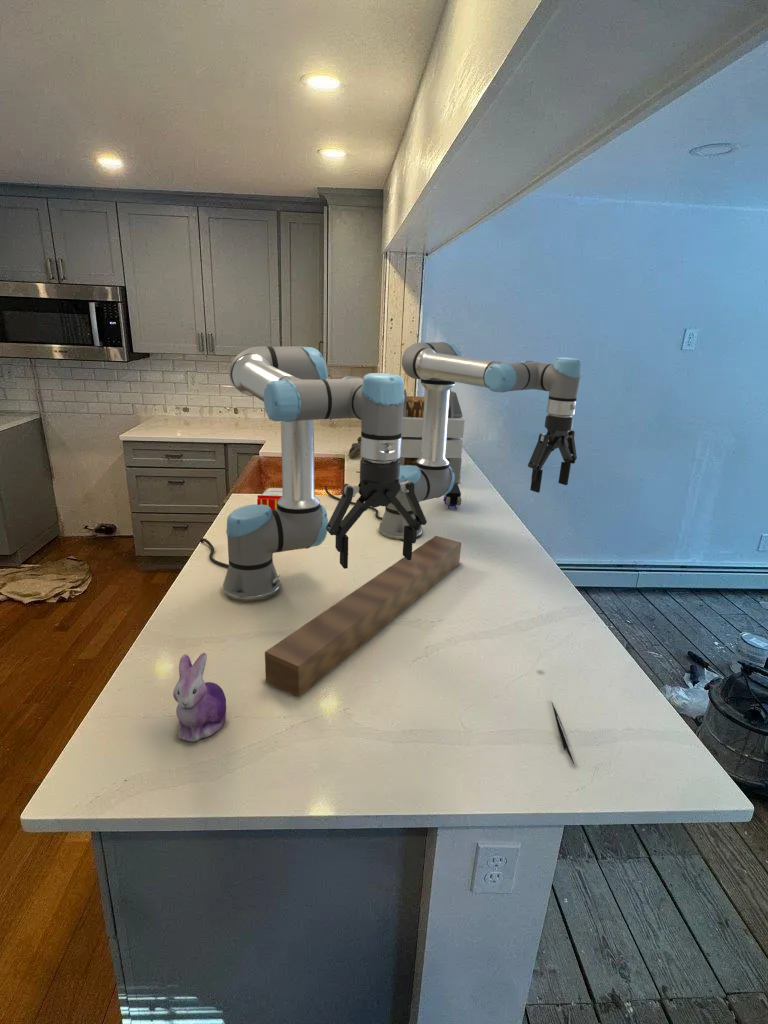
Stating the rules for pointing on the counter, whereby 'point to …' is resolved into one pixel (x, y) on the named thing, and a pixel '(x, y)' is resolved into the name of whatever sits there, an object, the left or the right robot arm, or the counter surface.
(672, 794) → the counter surface
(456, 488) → the figurine character
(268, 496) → the toy
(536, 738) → the counter surface
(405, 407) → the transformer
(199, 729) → the figurine
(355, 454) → the fossil
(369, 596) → the long beam
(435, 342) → the right robot arm
